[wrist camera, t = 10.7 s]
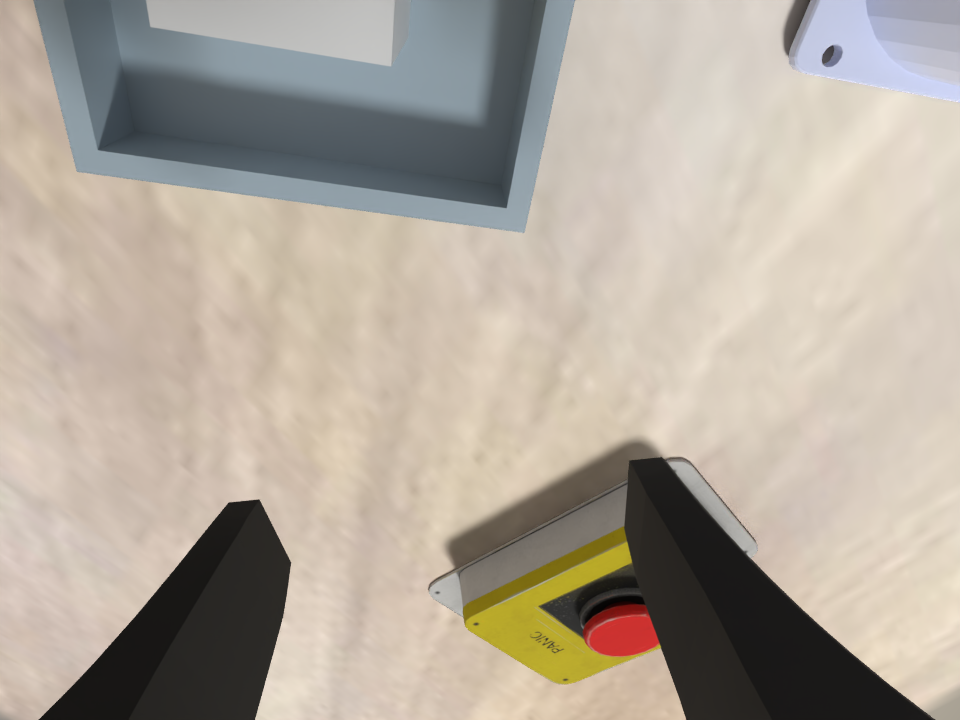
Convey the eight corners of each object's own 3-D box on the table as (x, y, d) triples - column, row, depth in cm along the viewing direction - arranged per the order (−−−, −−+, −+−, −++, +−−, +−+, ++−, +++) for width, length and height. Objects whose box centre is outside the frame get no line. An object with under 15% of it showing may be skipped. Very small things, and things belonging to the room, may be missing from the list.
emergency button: (803, 624, 25) (532, 726, 30) (758, 542, 28) (523, 645, 33) (716, 525, 20) (416, 664, 25) (677, 443, 24) (420, 579, 29)
